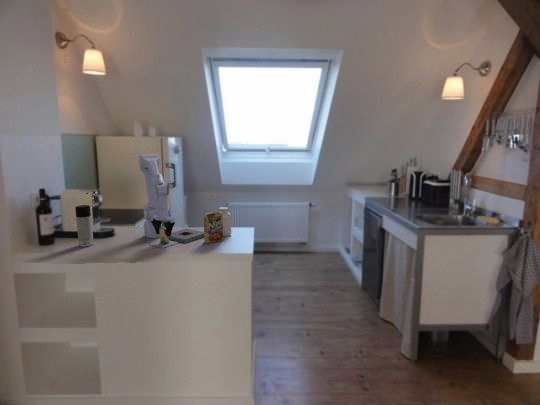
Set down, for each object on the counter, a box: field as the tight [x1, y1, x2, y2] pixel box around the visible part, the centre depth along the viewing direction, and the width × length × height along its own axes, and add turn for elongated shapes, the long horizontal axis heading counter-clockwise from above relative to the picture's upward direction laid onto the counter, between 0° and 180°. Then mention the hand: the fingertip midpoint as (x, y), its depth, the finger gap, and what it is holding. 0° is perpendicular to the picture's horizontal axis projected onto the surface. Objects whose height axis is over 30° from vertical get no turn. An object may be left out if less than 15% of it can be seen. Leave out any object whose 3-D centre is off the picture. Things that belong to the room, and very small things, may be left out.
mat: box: [149, 240, 180, 249], centre depth 191 cm, size 10×10×1 cm
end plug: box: [159, 226, 170, 244], centre depth 190 cm, size 4×4×8 cm
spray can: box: [74, 204, 94, 248], centre depth 188 cm, size 7×7×20 cm
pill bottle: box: [218, 206, 232, 237], centre depth 207 cm, size 8×8×15 cm
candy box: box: [203, 210, 224, 244], centre depth 194 cm, size 9×4×15 cm, turn 123°
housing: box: [169, 228, 204, 244], centre depth 203 cm, size 16×16×2 cm
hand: (163, 235), depth 190 cm, fingers open, 7 cm apart
